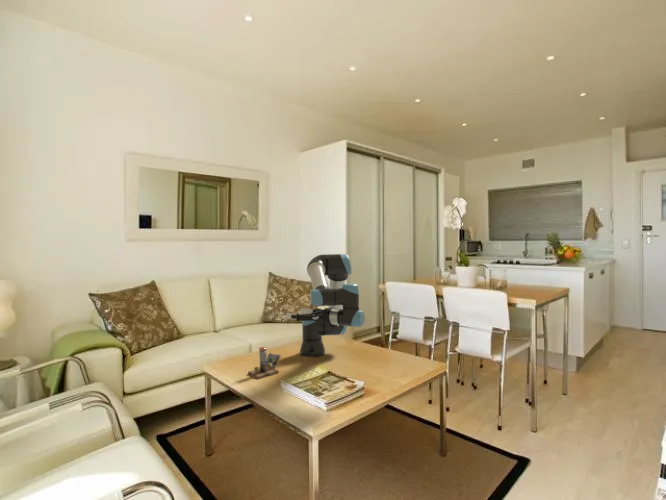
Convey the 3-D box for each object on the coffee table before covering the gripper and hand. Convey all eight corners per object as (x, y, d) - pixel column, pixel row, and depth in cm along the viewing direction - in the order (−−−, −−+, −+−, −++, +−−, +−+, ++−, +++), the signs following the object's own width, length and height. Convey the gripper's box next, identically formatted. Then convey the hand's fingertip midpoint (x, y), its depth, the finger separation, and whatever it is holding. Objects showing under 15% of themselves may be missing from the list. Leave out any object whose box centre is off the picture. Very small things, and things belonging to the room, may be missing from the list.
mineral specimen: (268, 374, 206) (285, 370, 204) (261, 368, 200) (278, 364, 198) (269, 358, 213) (285, 354, 211) (262, 352, 207) (278, 347, 205)
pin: (264, 369, 196) (264, 346, 195) (268, 371, 193) (267, 348, 193) (258, 371, 193) (257, 348, 193) (262, 372, 191) (261, 349, 190)
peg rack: (268, 368, 201) (267, 361, 201) (278, 373, 194) (278, 365, 193) (248, 374, 193) (247, 366, 193) (258, 379, 185) (258, 371, 185)
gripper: (319, 330, 166) (280, 325, 176) (344, 319, 188) (307, 316, 198) (319, 313, 166) (279, 309, 176) (343, 304, 188) (307, 301, 198)
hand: (294, 313), depth 187 cm, fingers open, 13 cm apart
